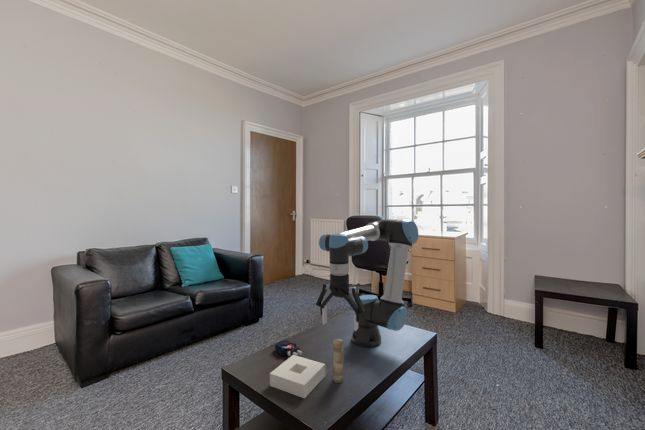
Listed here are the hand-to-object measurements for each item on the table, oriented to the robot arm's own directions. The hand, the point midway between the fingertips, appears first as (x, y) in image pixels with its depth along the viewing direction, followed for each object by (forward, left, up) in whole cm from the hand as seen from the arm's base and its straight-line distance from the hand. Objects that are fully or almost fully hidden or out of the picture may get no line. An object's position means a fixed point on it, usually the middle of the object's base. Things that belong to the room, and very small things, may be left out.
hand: (340, 326), depth 116 cm
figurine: (-9, -31, -23) cm, 40 cm away
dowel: (-1, -1, -23) cm, 23 cm away
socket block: (+7, -15, -23) cm, 28 cm away
